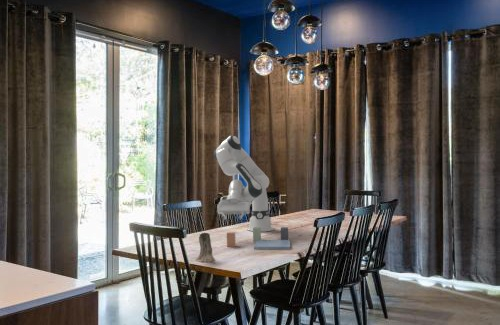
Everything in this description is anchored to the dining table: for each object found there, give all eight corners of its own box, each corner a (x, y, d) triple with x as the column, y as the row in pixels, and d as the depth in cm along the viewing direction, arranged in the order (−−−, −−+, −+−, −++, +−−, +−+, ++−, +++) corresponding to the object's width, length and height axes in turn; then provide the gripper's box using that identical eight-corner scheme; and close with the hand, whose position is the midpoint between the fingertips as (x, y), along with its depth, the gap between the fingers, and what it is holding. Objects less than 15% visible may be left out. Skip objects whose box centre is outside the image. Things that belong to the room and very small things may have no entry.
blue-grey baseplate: (256, 242, 267) (256, 239, 267) (289, 242, 265) (289, 239, 265) (254, 249, 247) (254, 246, 247) (290, 249, 245) (290, 246, 245)
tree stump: (201, 263, 217) (200, 235, 217) (192, 259, 225) (192, 233, 225) (219, 260, 222) (218, 233, 222) (209, 257, 231) (209, 231, 231)
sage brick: (253, 240, 274) (253, 227, 274) (260, 240, 274) (260, 227, 274) (253, 241, 270) (253, 228, 270) (260, 241, 269) (260, 228, 269)
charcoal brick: (281, 240, 273) (280, 227, 273) (288, 240, 273) (288, 227, 272) (281, 241, 268) (280, 228, 268) (288, 241, 268) (288, 228, 268)
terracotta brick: (228, 245, 259) (227, 231, 259) (235, 245, 259) (235, 231, 259) (227, 246, 255) (226, 233, 255) (234, 246, 255) (234, 233, 255)
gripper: (251, 204, 279) (250, 221, 269) (219, 204, 281) (217, 221, 271) (250, 197, 274) (249, 215, 265) (218, 197, 276) (215, 215, 266)
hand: (232, 218), depth 268 cm, fingers open, 8 cm apart
